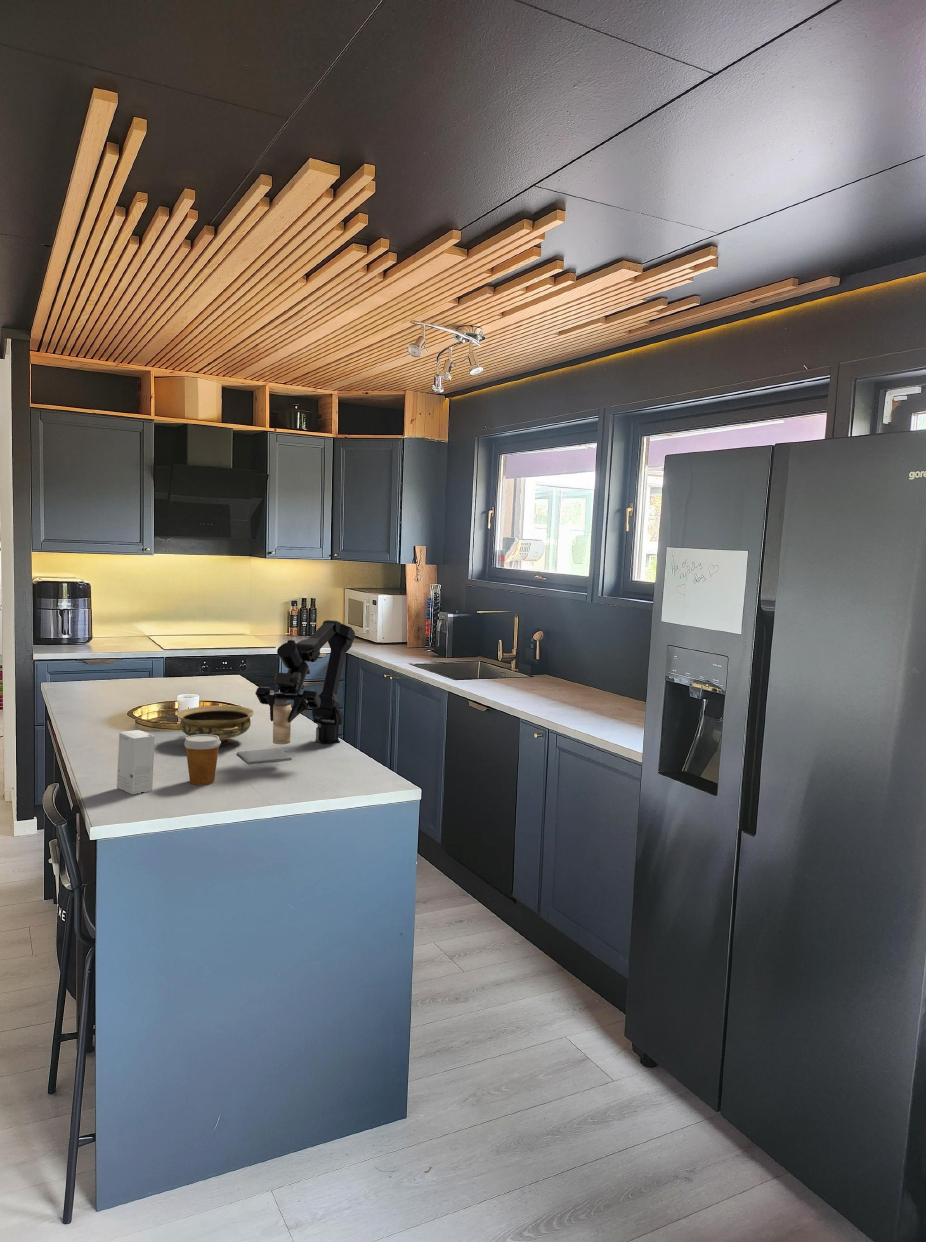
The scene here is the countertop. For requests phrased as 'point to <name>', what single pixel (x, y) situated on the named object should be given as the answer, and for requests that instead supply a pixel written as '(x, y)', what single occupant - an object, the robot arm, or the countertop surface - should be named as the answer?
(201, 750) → the disposable coffee cup
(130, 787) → the skincare box
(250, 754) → the slate tile
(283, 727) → the oak pepper mill
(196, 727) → the gold ornate bowl
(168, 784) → the countertop surface
